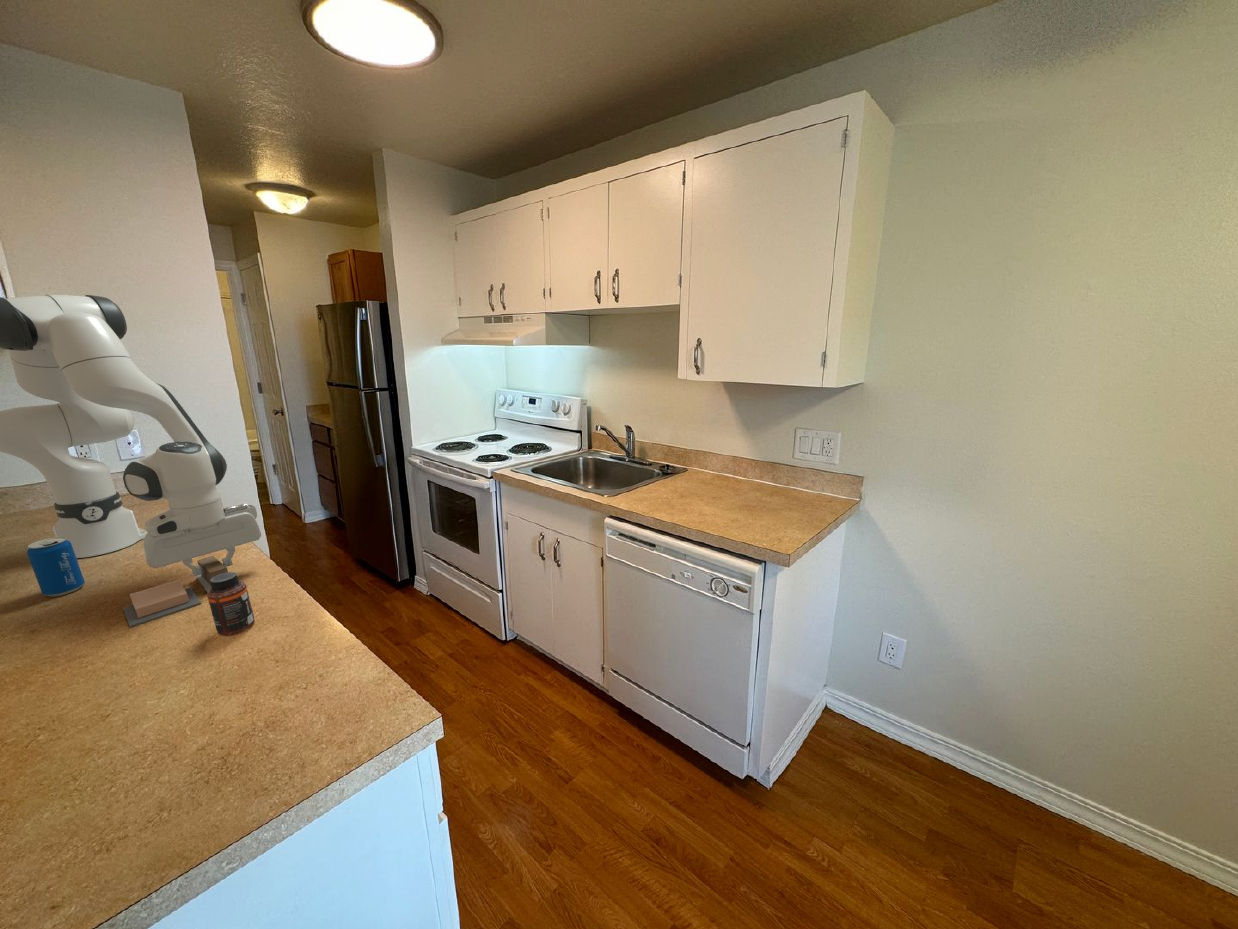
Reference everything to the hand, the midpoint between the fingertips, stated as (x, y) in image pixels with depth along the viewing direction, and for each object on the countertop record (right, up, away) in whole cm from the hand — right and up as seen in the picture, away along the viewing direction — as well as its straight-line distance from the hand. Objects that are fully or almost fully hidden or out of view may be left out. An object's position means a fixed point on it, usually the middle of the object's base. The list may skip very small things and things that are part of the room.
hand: (213, 569), depth 112 cm
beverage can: (-32, -4, -2) cm, 32 cm away
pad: (0, -3, +1) cm, 3 cm away
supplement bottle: (+19, -8, -17) cm, 26 cm away
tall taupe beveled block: (0, -2, +1) cm, 3 cm away
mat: (-3, -6, -9) cm, 11 cm away
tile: (-8, -3, -6) cm, 10 cm away
